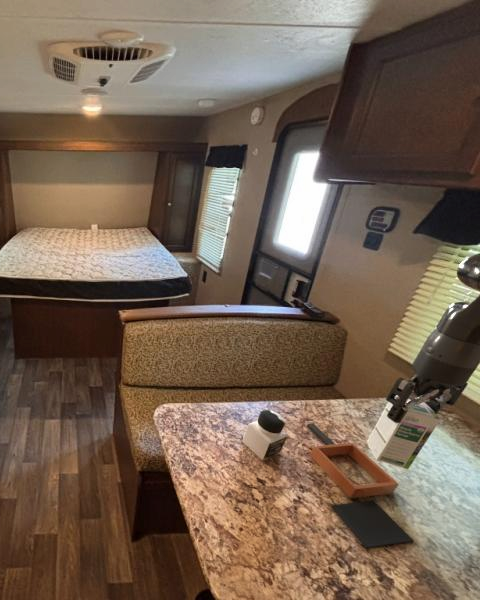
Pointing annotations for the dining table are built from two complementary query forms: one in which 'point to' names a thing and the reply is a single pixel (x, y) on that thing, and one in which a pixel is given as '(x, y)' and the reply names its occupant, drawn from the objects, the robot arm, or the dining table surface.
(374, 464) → the pan
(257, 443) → the medicine bottle
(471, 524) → the dining table surface
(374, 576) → the dining table surface
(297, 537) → the dining table surface
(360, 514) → the mat
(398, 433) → the syrup box
